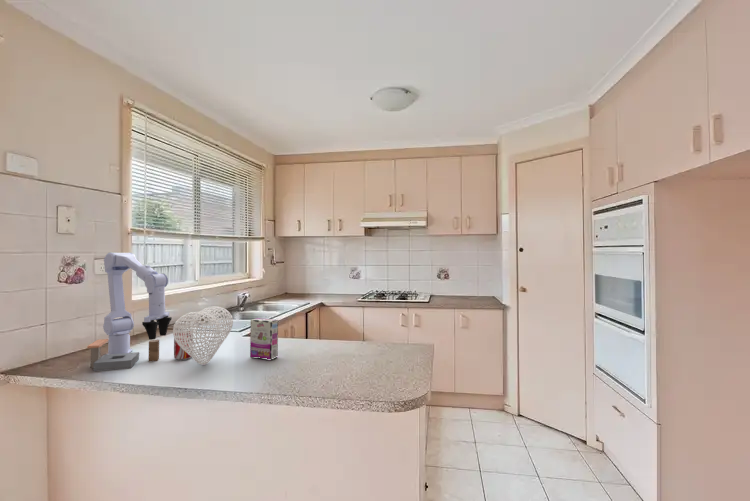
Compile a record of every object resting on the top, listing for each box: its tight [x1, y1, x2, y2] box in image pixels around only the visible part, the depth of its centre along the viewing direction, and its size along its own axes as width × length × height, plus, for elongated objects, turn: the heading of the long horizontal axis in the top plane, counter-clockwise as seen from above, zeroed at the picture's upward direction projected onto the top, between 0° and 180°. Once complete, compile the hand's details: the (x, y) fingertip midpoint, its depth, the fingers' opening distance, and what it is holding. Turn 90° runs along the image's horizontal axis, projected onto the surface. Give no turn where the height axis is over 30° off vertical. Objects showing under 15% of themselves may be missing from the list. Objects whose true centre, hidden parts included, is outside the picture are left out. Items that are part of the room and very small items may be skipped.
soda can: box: [173, 328, 194, 361], centre depth 156 cm, size 7×7×12 cm
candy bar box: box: [249, 317, 279, 359], centre depth 158 cm, size 11×5×16 cm, turn 68°
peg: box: [148, 339, 160, 363], centre depth 153 cm, size 3×3×8 cm
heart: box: [172, 305, 234, 366], centre depth 147 cm, size 28×16×22 cm, turn 177°
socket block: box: [86, 338, 140, 372], centre depth 145 cm, size 12×14×9 cm
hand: (157, 337), depth 150 cm, fingers open, 7 cm apart
